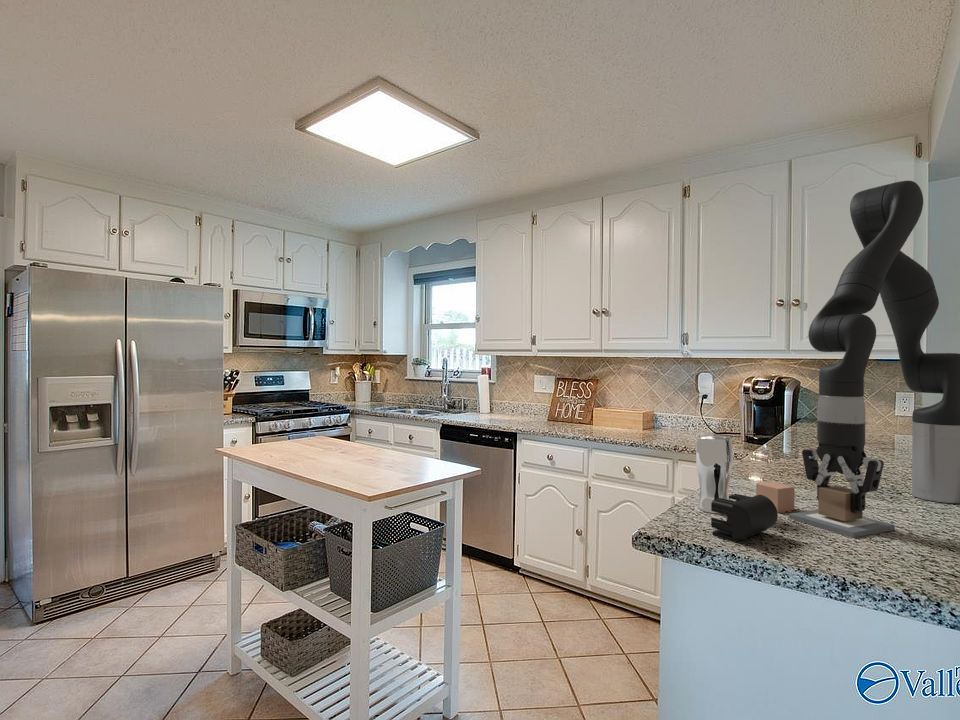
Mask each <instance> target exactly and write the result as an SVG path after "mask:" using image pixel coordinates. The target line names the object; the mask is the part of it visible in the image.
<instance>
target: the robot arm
mask: <svg viewBox="0 0 960 720" xmlns="http://www.w3.org/2000/svg"><path fill="white" fill-rule="evenodd" d="M923 196H924V195H923V191H922V188H921V187H920V185H919V184H918V183H917V182H915V181H913V180H901V181H896V182H892V183H888V184H887V183H886V184H884V185H881V186H875V187H872V188H867V189H864V190H861V191H858V192H856V193H855V194H854V195H853V196H852V198H851V201H850V204H849V212H850V217H851V219H850V220H851V221H852V225H853V228H854V230H855V232H856V235H857V236H858V238H859V241H860V244H861V245H862V248H863V249H862V250H861V251H859V252H858V253H857V254H856V255H855V256H854V257H853V258H852V259H851V260H850V261H849V262H848V263H847V264H846V266H845V267H844V269H843V270H842V273H841V274H840V277H839V278H838V281H837V284H836V287H835V290H834V293H833V295H832V296H831V297H830V298H829V299H828V300H827V302H826V303H825V304H824V305H823V307H822V308H821V309H820V310H819V311H818V313H817V314H816V315H815V317H814V318H813V320H812V321H811V323H810V324H809V325H810V326H809V329H808V341H809V343H810V345H811V347H812V348H813V349H815V350H816V351H818V352H823V353H844V356H843V357H842V359H841V360H840V361H839V362H836V363H832V364H827V365H824V366H822V367H821V368H820V369H819V374H818V381H819V383H818V400H817V413H816V415H817V416H816V417H817V420H816V431H817V432H816V435H817V436H816V439H817V442H818V446H817V447H816V449H814V448H807V449H803V450H801V453H802V454H801V455H802V459H803V465H804V470H805V475H806V476H805V477H806V478H807V480H809V481H813V482H814V483H815V484H816V494H817V495H816V496H817V497H816V498H817V500H818V488H822V487H830V486H831V485H829V484H830V482H831V480H832V477H833V476H834V475H835V474H836V473H839V474H841V475H844V478H845V480H846V481H847V482H848V484H849V485H850V489H852V491H853V492H854V493H851V512H852V513H856V514H857V513H862V511H863V512H864V511H865V509H866V495H867V493H871V492H877V491H878V489H879V487H880V481H881V477H882V473H883V468H884V465H885V464H884V461H883V460H882V459H874V458H871V457H868V456H867V454H866V453H865V446H866V406H865V397H864V396H865V394H864V393H865V389H864V388H865V383H864V382H865V373H866V370H867V366H868V364H869V359H870V356H871V353H872V351H873V347H874V346H875V342H876V339H877V327H876V325H875V322H874V321H873V320H872V318H871V317H870V316H868V315H866V313H869V312H870V311H872V309H874V307H875V305H876V303H877V301H878V298H879V295H880V298H881V302H882V304H883V308H884V310H885V313H886V316H887V318H888V320H889V323H890V326H891V329H892V332H893V336H894V339H895V344H896V349H897V351H898V352H897V353H898V357H899V362H900V363H899V364H900V368H901V372H902V375H903V376H902V377H903V379H904V383H906V384H905V385H906V386H907V387H908V389H909V390H910V391H912V392H914V393H915V392H916V393H923V394H943V395H942V398H941V400H940V401H938V402H937V403H934V404H933V405H929V406H928V405H927V406H925V407H920V408H916V409H914V410H913V411H912V415H911V416H912V417H911V420H912V422H911V431H912V433H911V434H912V436H911V438H912V439H911V442H912V445H911V454H912V455H911V495H912V496H913V497H915V498H917V499H922V500H925V501H932V502H938V503H945V504H947V503H948V504H960V353H959V352H958V353H956V352H955V353H954V352H953V353H952V352H944V353H943V352H942V353H941V352H938V353H937V352H933V353H931V352H930V353H929V352H927V353H926V352H924V351H923V349H922V346H921V345H922V344H921V340H922V337H923V335H924V333H925V332H926V330H927V328H928V326H929V324H930V323H931V322H932V321H933V318H935V315H936V313H937V311H938V309H939V305H940V301H939V296H938V292H937V290H936V287H935V283H934V282H935V281H934V279H933V277H932V276H931V273H929V271H928V270H927V269H926V268H925V267H924V266H922V265H921V264H920V263H918V262H917V261H915V260H914V259H913V258H911V257H910V256H908V255H907V254H906V253H904V252H903V251H902V248H903V247H904V245H905V243H906V242H907V240H908V238H909V237H910V236H911V233H912V232H913V230H914V229H915V227H916V225H917V223H918V221H919V220H920V218H921V215H922V212H923V209H924V207H923V206H924V197H923ZM819 459H820V461H821V464H820V466H819V461H818V460H819ZM863 465H864V470H866V471H865V476H864V473H863V471H862V468H861V467H862V466H863Z"/></svg>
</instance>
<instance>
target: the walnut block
mask: <svg viewBox="0 0 960 720" xmlns="http://www.w3.org/2000/svg"><path fill="white" fill-rule="evenodd" d="M851 493H854V492H853V491H852V489H851V488H848V487H844V486H843V487H842V486H838V485H833V486H831V485H830V487H822V488H818V499H817V502H818V503H817V506H818V508H817V510H818V514H821V515H824V516H828V517H832V518H835V519H839V520H842V521H850V520H856V519H862V517H864V516H863V513H864V510H863V511H862V513H857V514H856V513H852V512H851Z"/></svg>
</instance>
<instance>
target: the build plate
mask: <svg viewBox="0 0 960 720" xmlns="http://www.w3.org/2000/svg"><path fill="white" fill-rule="evenodd" d="M789 518H791V519H790V520H792V519H794V520H793V521H795V520H797V522H799V521H800V523H802V522H804V523H803V524H805V523H808V524H807V525H809V524H811V525H810V526H812V525H814V526H813V527H815V526H817V527H816V528H819V527H820V528H819V529H822V528H823V529H822V530H825V529H826V531H829V530H830V531H829V532H832V531H833V533H835V532H836V533H837V534H839V535H842V536H845V537H849V538H853V539H854V538H860V537H864V536H868V535H869V536H871V535H875V534H880V533H886V532H891V531H896V530H895V529H896V526H895V524H892V523H888V522H885V521H881V520H879V519H878V520H877V519H873V518H870V517H866V516H863V517H862V519H856V520H850V521H842V520H839V519H835V518H832V517H828V516H824V515H821V514H818V509H812V510H807V511H806V510H804V511H799V512H792V513H789V514H788V519H789Z"/></svg>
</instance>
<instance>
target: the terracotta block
mask: <svg viewBox="0 0 960 720" xmlns="http://www.w3.org/2000/svg"><path fill="white" fill-rule="evenodd" d="M755 485H756V486H755V496H757V495H763V496H765V497H767V498H769V499H770V500H771V501H772V502H773V503H774V505H775V507H776V509H777V512H782V513H786V512H785V511H788V512H792V511H791V510H794V511H795V495H796V494H795V488H796V487H795V486H792V485H787V484H783V483H779V482H775V481H769V482H768V481H767V482H759V483H756V484H755Z"/></svg>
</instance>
